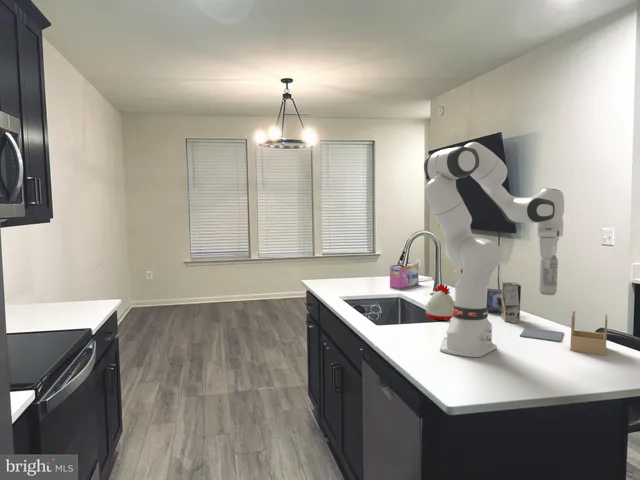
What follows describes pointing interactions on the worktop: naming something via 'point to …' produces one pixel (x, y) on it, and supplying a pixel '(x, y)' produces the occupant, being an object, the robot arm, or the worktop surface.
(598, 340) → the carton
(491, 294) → the small box
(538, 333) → the mat
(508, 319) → the coffee box
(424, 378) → the worktop surface
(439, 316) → the kitchen timer
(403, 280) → the gum box
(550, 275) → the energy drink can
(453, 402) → the worktop surface
